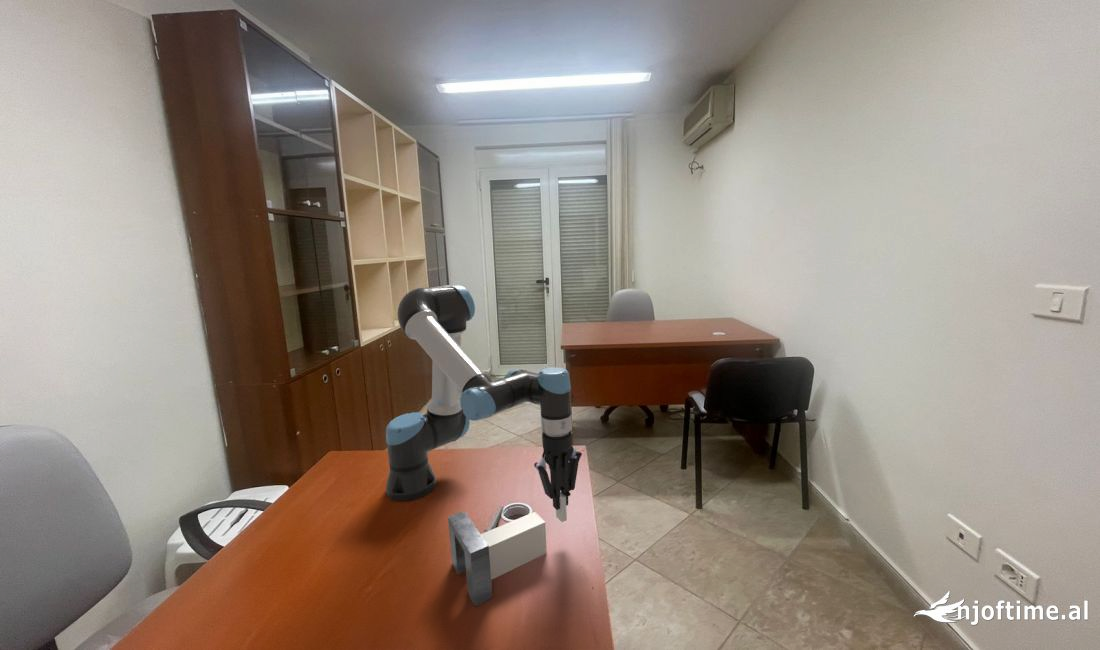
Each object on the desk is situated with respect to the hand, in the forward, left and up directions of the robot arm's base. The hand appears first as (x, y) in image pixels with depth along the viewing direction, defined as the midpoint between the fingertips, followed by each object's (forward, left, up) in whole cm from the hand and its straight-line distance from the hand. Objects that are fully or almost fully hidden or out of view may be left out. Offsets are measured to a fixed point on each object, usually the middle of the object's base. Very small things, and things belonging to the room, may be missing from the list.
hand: (561, 518), depth 104 cm
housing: (0, -25, -6) cm, 25 cm away
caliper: (-13, -13, -6) cm, 19 cm away
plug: (0, -14, -6) cm, 15 cm away
